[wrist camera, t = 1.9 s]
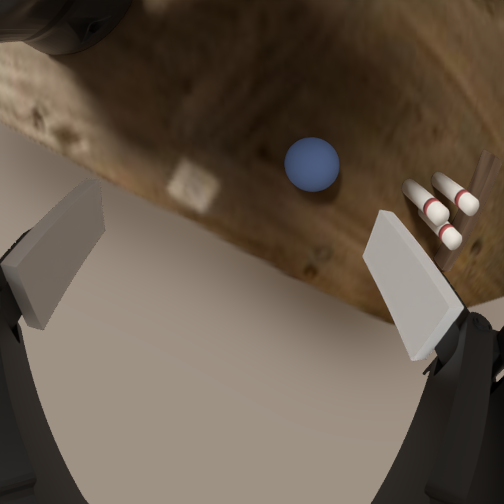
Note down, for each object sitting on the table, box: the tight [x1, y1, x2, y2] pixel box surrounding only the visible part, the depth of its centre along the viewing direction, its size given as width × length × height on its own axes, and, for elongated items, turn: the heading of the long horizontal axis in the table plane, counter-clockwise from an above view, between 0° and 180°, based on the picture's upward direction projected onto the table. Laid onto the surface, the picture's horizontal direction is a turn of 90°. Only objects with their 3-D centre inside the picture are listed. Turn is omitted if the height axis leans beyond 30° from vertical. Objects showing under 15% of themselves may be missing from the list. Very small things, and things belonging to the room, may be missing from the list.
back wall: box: [434, 149, 502, 272], centre depth 35 cm, size 2×20×3 cm, turn 168°
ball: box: [284, 137, 340, 192], centre depth 31 cm, size 6×6×6 cm
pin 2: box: [418, 209, 462, 250], centre depth 34 cm, size 2×2×8 cm
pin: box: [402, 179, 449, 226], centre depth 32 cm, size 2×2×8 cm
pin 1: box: [431, 172, 479, 216], centre depth 31 cm, size 2×2×8 cm
